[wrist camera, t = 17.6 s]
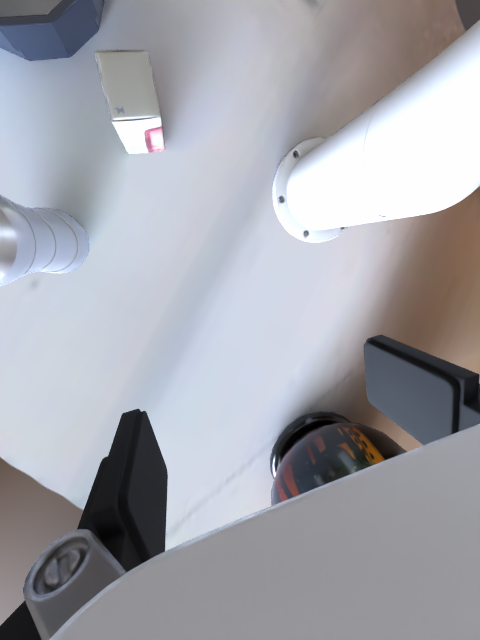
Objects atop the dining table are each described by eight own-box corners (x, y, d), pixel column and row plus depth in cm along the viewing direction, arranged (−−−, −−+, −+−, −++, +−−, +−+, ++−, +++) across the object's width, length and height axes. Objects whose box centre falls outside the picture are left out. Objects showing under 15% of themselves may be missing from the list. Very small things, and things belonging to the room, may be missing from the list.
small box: (166, 151, 30) (162, 119, 23) (127, 155, 30) (110, 122, 22) (155, 99, 29) (148, 47, 21) (114, 102, 28) (92, 48, 21)
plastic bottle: (68, 200, 29) (-128, 107, 10) (107, 254, 31) (4, 259, 13) (15, 229, 29) (-287, 187, 10) (59, 282, 31) (-122, 330, 12)
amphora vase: (300, 373, 42) (512, 580, 16) (386, 422, 49) (631, 621, 23) (229, 479, 44) (309, 823, 18) (320, 511, 51) (476, 792, 24)
